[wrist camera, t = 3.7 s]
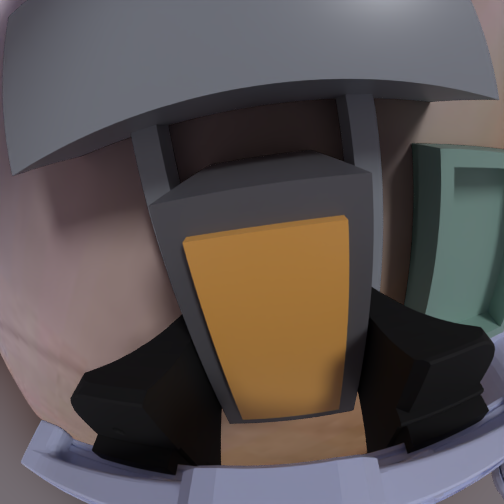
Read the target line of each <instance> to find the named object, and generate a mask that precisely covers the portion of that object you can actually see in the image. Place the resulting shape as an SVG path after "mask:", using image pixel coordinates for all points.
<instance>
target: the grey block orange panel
mask: <svg viewBox="0 0 504 504" xmlns="http://www.w3.org/2000/svg"><path fill="white" fill-rule="evenodd" d="M148 208H149V211H150V215H151V219H152V222H153V226H154V229H155V233H156V236H157V240H158V243H159V246H160V250H161V253H162V256H163V259H164V262H165V265H166V269H167V272H168V275H169V278H170V281H171V284H172V286H173V289H174V292H175V295H176V298H177V301H178V303H179V306H180V309H181V312H182V314H183V317H184V320H185V322H186V325H187V328H188V330H189V333H190V335H191V338H192V340H193V343H194V345H195V348H196V350H197V353H198V355H199V357H200V360H201V362H202V365H203V367H204V369H205V372H206V374H207V376H208V378H209V381H210V383H211V385H212V387H213V389H214V392H215V394H216V396H217V398H218V400H219V402H220V404H221V407H222V409H223V411H224V413H225V415H226V417H227V419H228V421H229V423H230V424H237V423H262V422H276V421H287V420H296V419H304V418H312V417H319V416H325V415H331V414H336V413H342V412H347V411H352V410H354V405H355V401H356V396H357V391H358V386H359V381H360V376H361V370H362V364H363V358H364V351H365V345H366V337H367V329H368V321H369V311H370V301H371V288H372V272H373V245H374V209H373V182H372V173H371V172H369V171H367V170H364V169H362V168H359V167H357V166H354V165H351V164H349V163H346V162H344V161H341V160H338V159H335V158H333V157H330V156H327V155H324V154H321V153H318V152H316V151H313V150H306V151H297V152H289V153H281V154H273V155H266V156H259V157H253V158H247V159H241V160H235V161H229V162H223V163H218V164H213V165H209V166H208V167H206V168H204V169H203V170H201V171H200V172H198V173H196V174H195V175H193V176H192V177H190V178H189V179H187V180H185V181H184V182H182V183H181V184H179V185H178V186H176V187H175V188H173V189H172V190H170V191H169V192H167V193H166V194H164V195H163V196H161V197H160V198H159V199H157V200H156V201H154V202H153V203H151V204H150V205H149V206H148Z"/></svg>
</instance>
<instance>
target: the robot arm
mask: <svg viewBox="0 0 504 504" xmlns="http://www.w3.org/2000/svg"><path fill="white" fill-rule="evenodd" d="M358 394H359V399H360V404H361V410H362V415H363V422H364V429H365V436H366V445H367V454H363V455H353V456H345V457H335V458H330V459H324V460H317V461H310V462H302V463H292V464H280V465H261V466H225V465H221V413H222V407H221V404H220V402H219V400H218V398H217V396H216V394H215V392H214V389H213V387H212V385H211V383H210V381H209V378H208V376H207V374H206V372H205V369H204V367H203V365H202V362H201V360H200V357H199V355H198V353H197V350H196V348H195V345H194V343H193V340H192V338H191V335H190V333H189V330H188V328H187V325H186V322H185V320H184V317H183V314H182V315H181V316H180V317H179V318H178V319H177V320H175V321H174V322H173V323H172V324H171V325H170V326H169V327H168V328H167V329H165V330H164V331H163V332H162V333H160V334H159V335H158V336H156V337H155V338H154V339H152V340H151V341H149V342H148V343H146V344H145V345H143V346H141V347H140V348H138V349H137V350H135V351H133V352H132V353H130V354H128V355H126V356H124V357H122V358H120V359H118V360H116V361H114V362H112V363H110V364H107V365H105V366H102V367H100V368H97V369H94V370H92V371H89V372H86V373H84V375H83V377H82V379H81V380H80V382H79V384H78V386H77V387H76V389H75V391H74V393H73V395H72V397H71V404H72V406H73V408H74V410H75V411H76V413H77V414H78V415H79V416H80V417H81V418H82V419H83V420H84V421H85V422H86V423H87V424H88V425H89V426H90V427H91V428H92V429H93V430H94V431H95V432H96V433H97V434H98V436H97V438H96V441H95V443H94V446H93V445H90V444H86V443H84V442H81V441H78V440H75V439H73V438H72V437H71V436H70V435H69V434H68V433H67V432H66V431H65V430H64V429H62V428H60V427H59V426H57V425H54V424H52V423H49V422H47V421H44V420H41V422H40V424H39V426H38V428H37V430H36V432H35V434H34V435H33V437H32V440H31V441H30V444H29V446H28V448H27V450H26V452H25V454H24V456H23V458H22V461H21V462H22V464H23V465H24V466H26V467H27V468H28V469H30V470H31V471H33V472H34V473H35V474H37V475H38V476H40V477H42V478H43V479H44V480H46V481H47V482H49V483H50V484H52V485H54V486H55V487H57V488H59V489H60V490H62V491H64V492H66V493H68V494H70V495H72V496H74V497H76V498H78V499H80V500H82V501H84V502H86V503H88V504H435V503H438V502H440V501H441V500H444V499H446V498H448V497H450V496H452V495H454V494H455V493H457V492H459V491H461V490H463V489H464V488H466V487H468V486H470V485H471V484H473V483H474V482H476V481H478V480H479V479H481V478H483V477H484V476H485V475H487V474H489V473H490V472H492V478H493V482H494V484H495V487H496V489H497V491H498V492H499V493H500V494H501V495H502V497H503V499H504V331H503V332H502V333H500V334H498V335H496V336H494V337H492V338H489V336H488V335H487V334H486V333H485V331H484V330H483V329H482V328H481V327H478V326H471V325H465V324H458V323H454V322H450V321H446V320H442V319H438V318H435V317H432V316H429V315H426V314H423V313H421V312H418V311H416V310H413V309H411V308H409V307H407V306H405V305H402V304H400V303H398V302H396V301H394V300H393V299H391V298H389V297H388V296H386V295H384V294H382V293H381V292H379V291H378V290H376V289H375V288H373V287H372V288H371V301H370V311H369V321H368V329H367V337H366V345H365V351H364V358H363V364H362V370H361V376H360V381H359V386H358Z"/></svg>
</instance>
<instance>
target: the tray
mask: <svg viewBox="0 0 504 504" xmlns="http://www.w3.org/2000/svg"><path fill="white" fill-rule="evenodd" d="M412 155H413V181H414V206H413V232H412V246H411V257H410V267H409V276H408V283H407V290H406V297H405V303H404V305H405V306H407V307H409V308H411V309H413V310H416V311H418V312H421V313H423V314H426V315H429V316H432V317H435V318H438V319H442V320H446V321H450V322H454V323H458V324H465V325H471V326H478V327H481V328H482V329H483V330H484V331H485V333H486V334H487V335H488V336H489V338H492V337H494V336H496V335H498V334H500V333H502V332H503V331H504V149H498V148H490V147H479V146H467V145H452V144H422V143H412Z"/></svg>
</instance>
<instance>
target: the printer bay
mask: <svg viewBox="0 0 504 504" xmlns="http://www.w3.org/2000/svg"><path fill="white" fill-rule="evenodd" d="M2 87H3V114H4V126H5V135H6V143H7V150H8V156H9V162H10V167H11V172H12V176H14V175H17V174H20V173H23V172H26V171H29V170H33V169H36V168H39V167H43V166H46V165H49V164H53V163H57V162H60V161H64V160H68V159H72V158H76V157H80V156H83V155H85V154H87V153H90V152H92V151H95V150H97V149H100V148H102V147H105V146H107V145H110V144H113V143H115V142H118V141H121V140H123V139H126V138H129V137H131V138H132V143H133V148H134V152H135V157H136V161H137V166H138V170H139V175H140V179H141V183H142V187H143V191H144V195H145V199H146V203H147V206H149V205H150V204H151V203H153V202H154V201H156V200H157V199H159V198H160V197H161V196H163V195H164V194H166V193H167V192H169V191H170V190H172V189H173V188H175V187H176V186H178V185H179V184H180V180H179V175H178V170H177V166H176V161H175V156H174V152H173V147H172V142H171V137H170V132H169V127H168V125H171V124H175V123H178V122H182V121H186V120H190V119H194V118H198V117H203V116H207V115H212V114H216V113H221V112H226V111H231V110H237V109H242V108H248V107H255V106H261V105H268V104H276V103H285V102H294V101H305V100H319V99H336V104H337V110H338V116H339V123H340V130H341V138H342V146H343V155H344V162H346V163H349V164H351V165H354V166H357V167H359V168H362V169H364V170H367V171H369V172H371V173H372V182H373V209H374V245H373V272H372V287H373V288H375V289H376V290H378V291H379V292H380V282H381V269H382V249H383V188H382V168H381V155H380V144H379V134H378V125H377V118H376V110H375V104H374V98H384V99H404V100H417V101H427V102H436V101H452V100H499V96H498V90H497V84H496V79H495V74H494V70H493V65H492V61H491V57H490V53H489V50H488V46H487V43H486V40H485V36H484V33H483V30H482V27H481V25H480V22H479V19H478V16H477V14H476V11H475V9H474V6H473V4H472V2H471V0H27V1H25V2H24V3H23V4H22V5H21V6H20V7H19V8H17V9H16V10H15V11H14V12H13V13H12V14H11V15H10V16H9V17H8V23H7V29H6V37H5V45H4V57H3V83H2ZM148 210H149V208H148ZM149 214H150V211H149ZM150 217H151V215H150ZM151 221H152V219H151ZM152 224H153V222H152ZM153 228H154V226H153ZM154 231H155V229H154ZM155 235H156V233H155ZM156 238H157V236H156ZM157 241H158V240H157ZM158 245H159V243H158ZM159 248H160V246H159ZM160 251H161V250H160ZM161 254H162V253H161ZM162 258H163V256H162ZM163 261H164V259H163ZM164 264H165V262H164ZM165 267H166V265H165ZM166 270H167V269H166ZM167 273H168V272H167ZM168 276H169V275H168ZM169 279H170V278H169ZM170 282H171V281H170ZM171 285H172V284H171ZM172 288H173V286H172ZM173 290H174V289H173ZM174 293H175V292H174ZM175 296H176V295H175ZM176 299H177V298H176ZM177 302H178V301H177ZM178 304H179V303H178ZM179 307H180V306H179ZM180 310H181V309H180ZM181 313H182V312H181Z"/></svg>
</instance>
